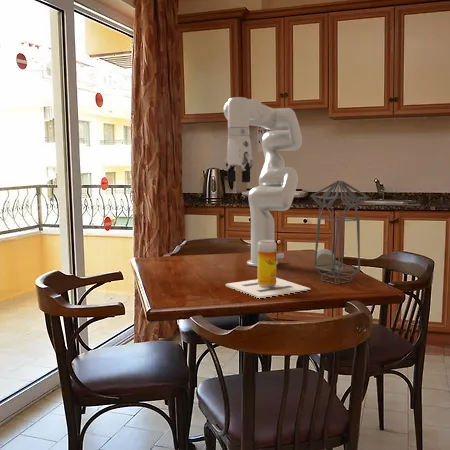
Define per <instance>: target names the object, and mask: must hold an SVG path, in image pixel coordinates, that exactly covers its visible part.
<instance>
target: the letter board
mask: <svg viewBox="0 0 450 450" xmlns="http://www.w3.org/2000/svg"><path fill="white" fill-rule="evenodd" d="M225 287H227V288H230V289H232V290H234V289H235V290H234V291H237V292H239V291H240V293H242V292H243V293H242V294H245V293H246V294H245V295H247V294H249V295H248V296H250V295H251V296H250V297H252V296H254V297H253V298H255V297H256V298H255V299H257V298H259V299H258V300H261V299H260V298H264V299H267V298H266V297H270V298H273V297H272V296H276V297H279V296H278V295H282V296H285V295H284V294H288V295H291V294H290V293H294V294H296V293H295V292H300V291H307V290H311V288H310V287H307V286H303V285H301V284H297V283H295V282H291V281H289V280H285V279H282V278H280V277H276V284H275V286H274V287H268V288H267V287H260V286H259V284H258V278H256V279H249V280H242V281H237V282H236V281H235V282H228V283H225ZM307 292H308V291H307ZM300 293H301V292H300Z"/></svg>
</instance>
